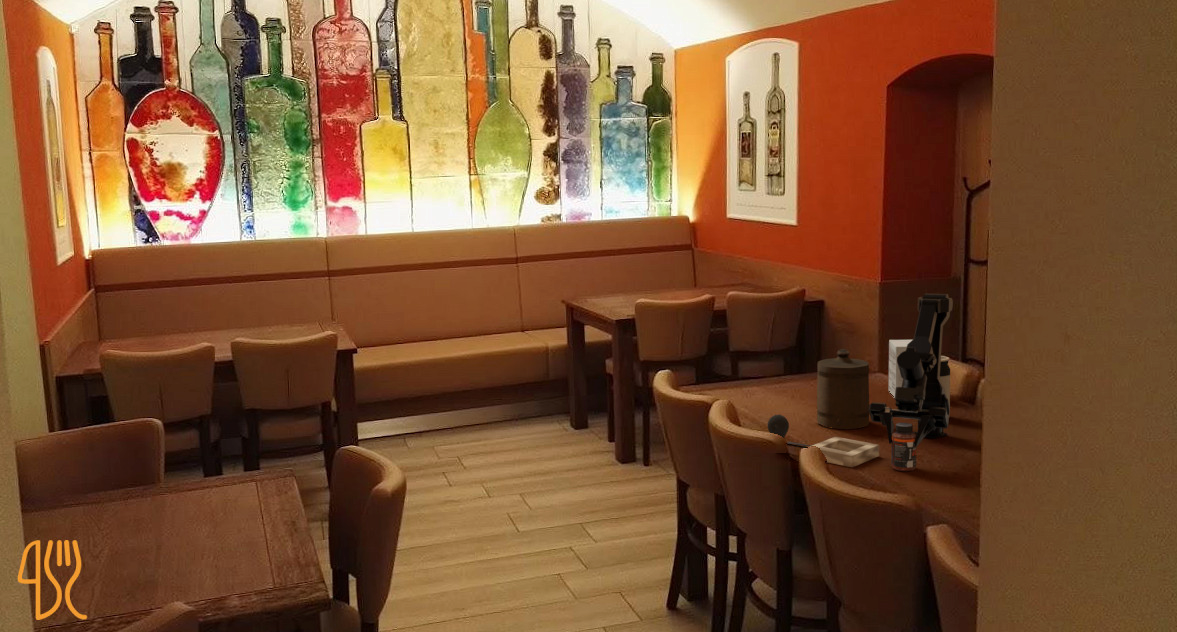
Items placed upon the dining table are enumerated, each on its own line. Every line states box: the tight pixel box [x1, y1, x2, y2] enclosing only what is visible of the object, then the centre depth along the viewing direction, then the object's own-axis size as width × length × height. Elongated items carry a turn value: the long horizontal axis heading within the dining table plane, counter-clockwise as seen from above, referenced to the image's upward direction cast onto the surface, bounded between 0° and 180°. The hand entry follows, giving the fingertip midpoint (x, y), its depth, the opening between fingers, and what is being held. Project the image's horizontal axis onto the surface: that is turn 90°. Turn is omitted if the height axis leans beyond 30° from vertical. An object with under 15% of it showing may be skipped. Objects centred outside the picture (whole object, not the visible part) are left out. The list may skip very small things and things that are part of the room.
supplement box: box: [888, 339, 913, 399], centre depth 330 cm, size 13×13×18 cm
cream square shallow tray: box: [809, 436, 880, 468], centre depth 266 cm, size 13×13×3 cm
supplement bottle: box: [890, 422, 918, 472], centre depth 254 cm, size 6×6×11 cm
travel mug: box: [940, 355, 951, 419], centre depth 302 cm, size 8×8×18 cm
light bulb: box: [767, 414, 790, 439], centre depth 273 cm, size 6×6×10 cm
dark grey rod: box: [787, 441, 812, 448], centre depth 277 cm, size 12×1×1 cm, turn 49°
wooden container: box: [816, 348, 870, 430], centre depth 299 cm, size 15×15×22 cm
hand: (902, 444), depth 253 cm, fingers closed on supplement bottle, 6 cm apart
